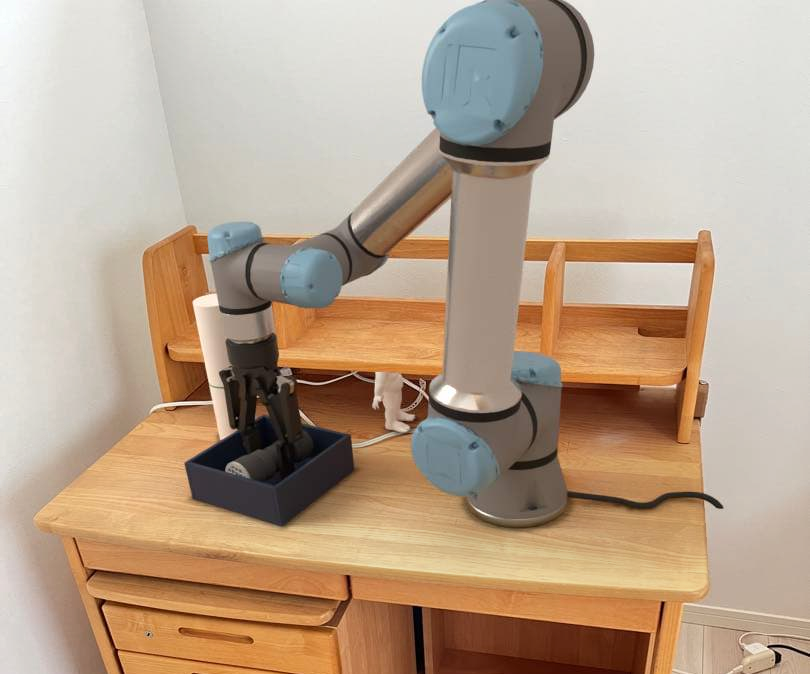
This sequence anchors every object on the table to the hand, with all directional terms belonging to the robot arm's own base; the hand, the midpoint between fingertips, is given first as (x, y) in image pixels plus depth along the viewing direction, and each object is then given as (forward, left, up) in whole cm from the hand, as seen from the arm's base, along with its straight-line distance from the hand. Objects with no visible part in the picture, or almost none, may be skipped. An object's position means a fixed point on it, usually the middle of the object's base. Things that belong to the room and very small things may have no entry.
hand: (273, 473), depth 133 cm
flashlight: (0, 0, 0) cm, 0 cm away
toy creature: (-7, -27, -2) cm, 28 cm away
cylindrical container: (+17, -11, -2) cm, 21 cm away
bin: (0, 0, -2) cm, 2 cm away
